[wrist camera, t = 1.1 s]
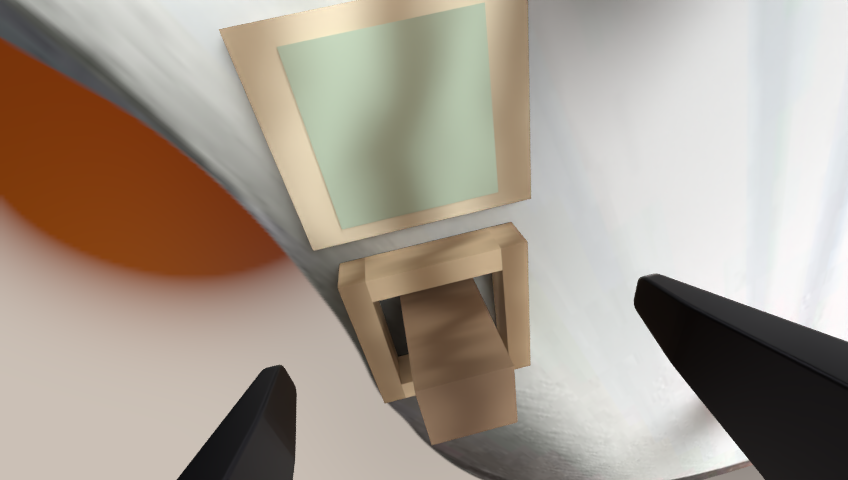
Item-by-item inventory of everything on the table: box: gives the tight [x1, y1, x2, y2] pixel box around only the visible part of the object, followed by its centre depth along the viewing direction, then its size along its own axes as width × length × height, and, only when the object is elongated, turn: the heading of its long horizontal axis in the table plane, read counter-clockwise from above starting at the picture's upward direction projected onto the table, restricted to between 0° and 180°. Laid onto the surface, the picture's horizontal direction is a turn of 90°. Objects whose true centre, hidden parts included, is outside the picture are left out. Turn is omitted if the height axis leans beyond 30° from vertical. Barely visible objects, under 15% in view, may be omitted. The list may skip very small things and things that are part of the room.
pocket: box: [338, 222, 530, 403], centre depth 24 cm, size 11×11×2 cm
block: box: [400, 278, 517, 445], centre depth 22 cm, size 5×5×8 cm
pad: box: [219, 0, 531, 251], centre depth 18 cm, size 13×11×1 cm
